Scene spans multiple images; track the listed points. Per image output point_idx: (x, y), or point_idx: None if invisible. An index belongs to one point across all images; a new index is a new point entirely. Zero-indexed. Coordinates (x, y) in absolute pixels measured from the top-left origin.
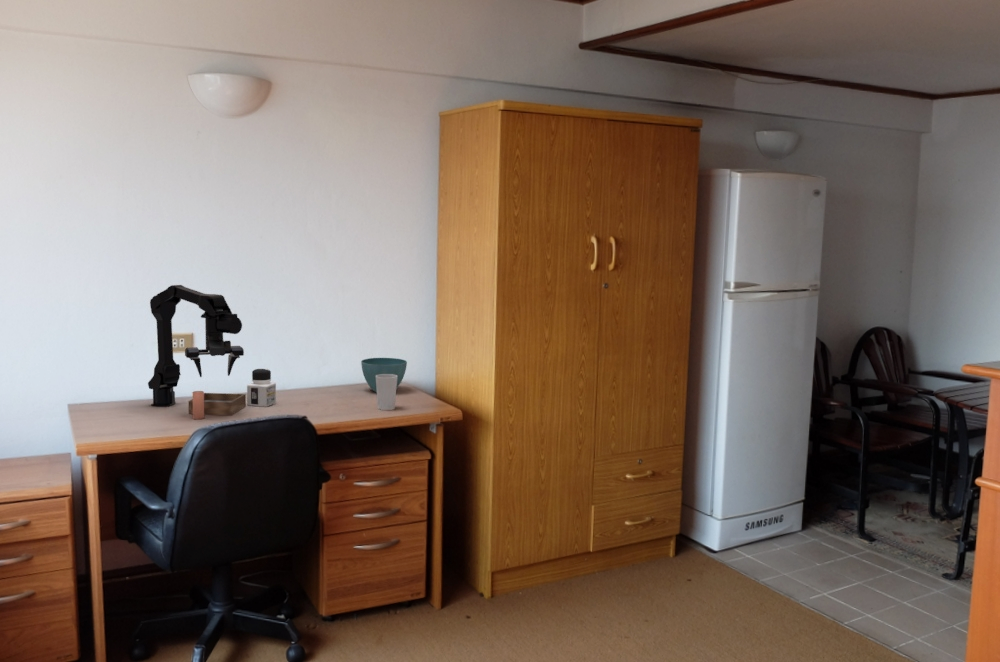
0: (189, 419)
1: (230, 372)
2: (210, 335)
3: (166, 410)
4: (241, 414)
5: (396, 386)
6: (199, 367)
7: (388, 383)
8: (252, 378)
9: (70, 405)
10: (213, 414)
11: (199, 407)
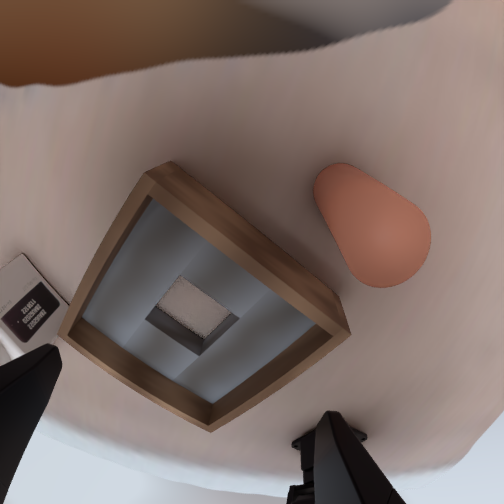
0: None
1: (22, 355)
2: None
3: (369, 381)
4: (124, 160)
5: None
6: (379, 497)
7: None
8: None
9: (462, 458)
10: (247, 222)
11: (364, 174)
